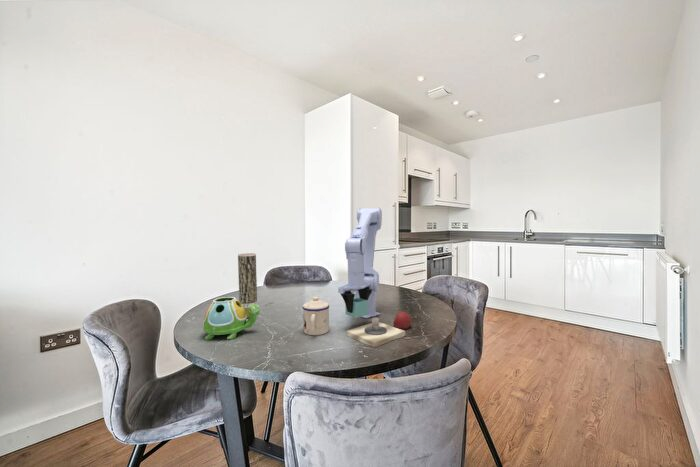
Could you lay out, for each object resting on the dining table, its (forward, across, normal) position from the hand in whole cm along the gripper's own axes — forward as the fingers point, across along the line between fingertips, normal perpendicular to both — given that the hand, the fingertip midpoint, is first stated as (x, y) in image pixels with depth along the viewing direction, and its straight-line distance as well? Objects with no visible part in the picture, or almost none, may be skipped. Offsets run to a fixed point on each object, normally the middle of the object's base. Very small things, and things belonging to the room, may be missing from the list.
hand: (356, 310), depth 106 cm
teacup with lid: (+6, -14, +5) cm, 16 cm away
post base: (+6, -1, -11) cm, 12 cm away
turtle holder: (+6, -36, +24) cm, 44 cm away
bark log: (+6, -24, +39) cm, 46 cm away
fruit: (+6, +12, -12) cm, 18 cm away
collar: (+1, 0, 0) cm, 1 cm away
